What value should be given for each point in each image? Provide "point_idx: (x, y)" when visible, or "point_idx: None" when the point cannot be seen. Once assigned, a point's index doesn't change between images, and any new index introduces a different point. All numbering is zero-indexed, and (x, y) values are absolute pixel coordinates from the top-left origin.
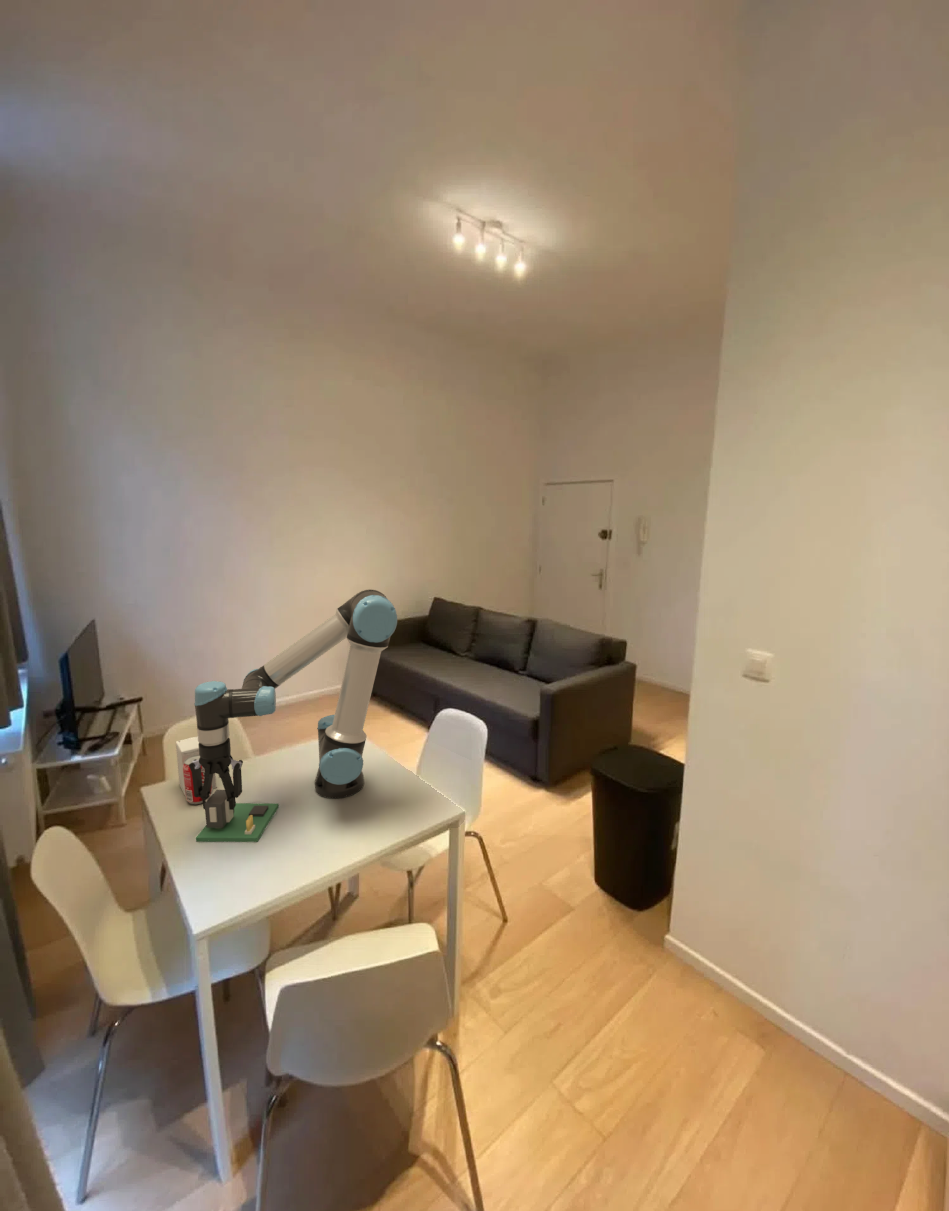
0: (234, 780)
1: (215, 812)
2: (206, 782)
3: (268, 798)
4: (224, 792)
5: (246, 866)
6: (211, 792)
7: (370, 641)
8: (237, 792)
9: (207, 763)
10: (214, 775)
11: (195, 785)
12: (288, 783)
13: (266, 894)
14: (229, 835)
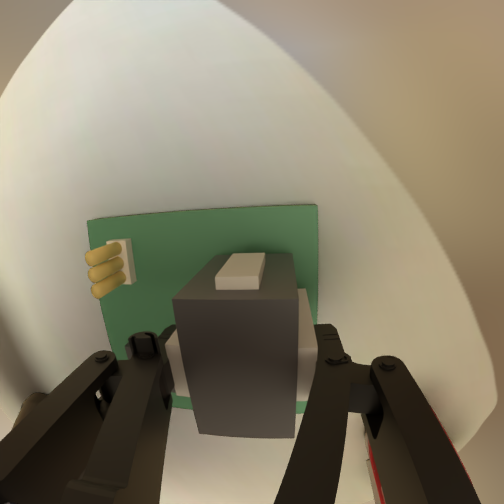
0: (38, 428)
1: (222, 269)
2: (310, 463)
3: (188, 430)
4: (231, 416)
5: (85, 106)
6: (367, 443)
7: None
8: (82, 368)
9: None
10: (374, 488)
11: (417, 421)
12: (176, 470)
13: (36, 52)
14: (181, 226)
